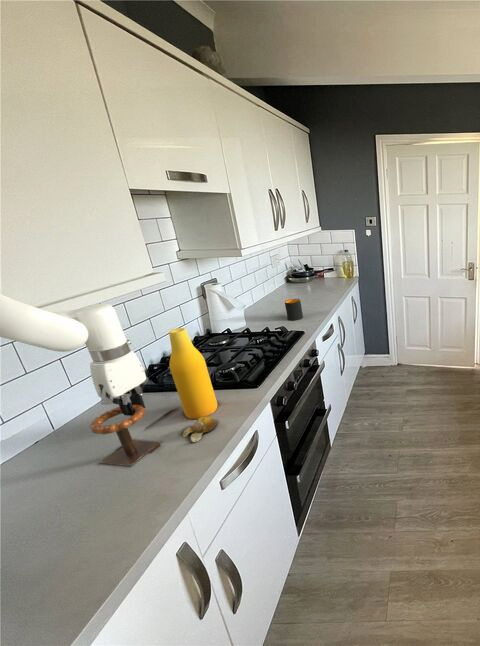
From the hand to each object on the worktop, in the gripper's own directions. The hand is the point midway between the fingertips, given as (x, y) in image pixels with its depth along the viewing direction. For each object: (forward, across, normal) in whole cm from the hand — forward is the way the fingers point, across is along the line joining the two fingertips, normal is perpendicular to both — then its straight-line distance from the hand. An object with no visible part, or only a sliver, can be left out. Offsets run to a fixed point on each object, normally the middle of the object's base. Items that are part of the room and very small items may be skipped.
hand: (134, 411), depth 96 cm
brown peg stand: (+11, +5, 0) cm, 12 cm away
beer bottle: (+12, -16, +4) cm, 20 cm away
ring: (-1, +4, 0) cm, 4 cm away
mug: (+12, -106, -11) cm, 108 cm away
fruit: (+12, -6, +11) cm, 17 cm away
